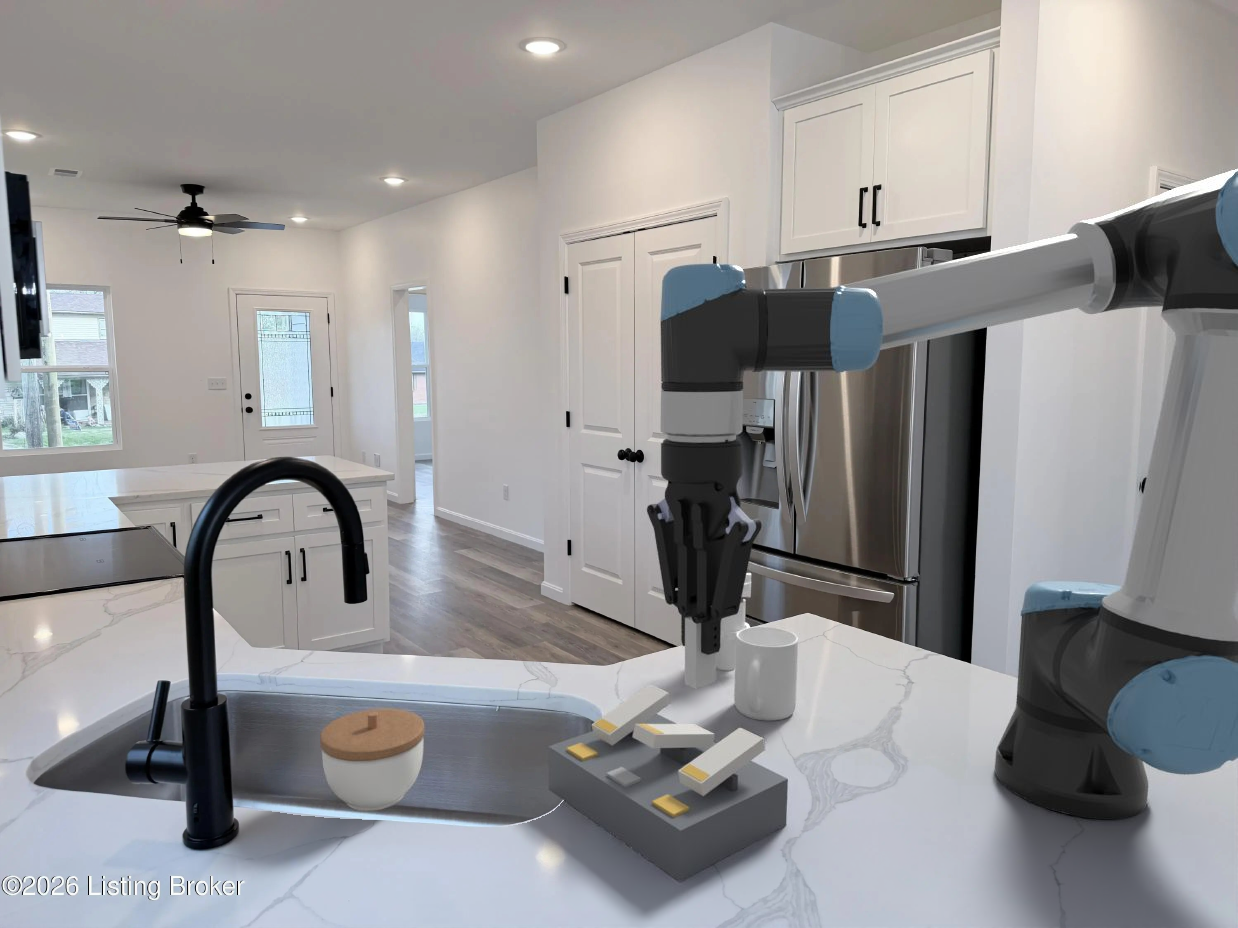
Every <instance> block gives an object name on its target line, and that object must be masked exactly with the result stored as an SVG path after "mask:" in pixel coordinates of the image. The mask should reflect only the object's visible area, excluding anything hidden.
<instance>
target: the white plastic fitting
mask: <svg viewBox="0 0 1238 928" xmlns="http://www.w3.org/2000/svg"><path fill="white" fill-rule="evenodd" d="M751 590H752V573H751V572H747V573H746V578H745V582H744V587H743V592H742V597H741V598H743V599H742V602H740V606H739V611H738V613H737V614H736V615H732V616H729V617H725V618H722V619H721V636H720V637H721V638H720V650H719V652H716V669H718V670H722V671H733V670H735V652H736V634H737V632H738V631H740V630H742V629H745V628H750V627H751V626H750V624H749V623H748V622H746V602H747V601H746V599H744V598H751V595H752V594H751V593H752V591H751Z"/></svg>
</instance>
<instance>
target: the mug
mask: <svg viewBox="0 0 1238 928" xmlns="http://www.w3.org/2000/svg"><path fill="white" fill-rule="evenodd" d="M798 655H799V638H798V635H796V633H794V632H792V631H790V630H786V629H784V628H779V627H771V626H752V627H751V626H750V628H745V629H742V630H740V631H738V632H737V634H736V652H735V669H734V695H733V697H734V698H733V699H734V706H735V709H736V710H737V711H738V712H739V713H740V715H741V714H742V715H743V716H745V717H747V718H750V719H754V720H757V721H765V722H766V721H769V722H772V721H773V722H775V721H782V720H784V719H788V718H789V717H790V716H792V715H793V713H794V712H795V710H796V704H797V685H798V684H797V680H798V679H797V678H798V658H799V657H798Z"/></svg>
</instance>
